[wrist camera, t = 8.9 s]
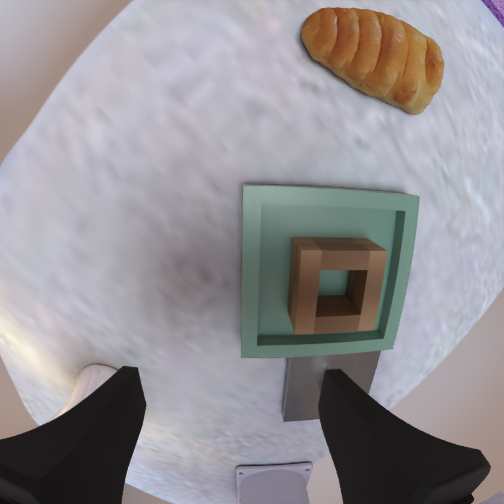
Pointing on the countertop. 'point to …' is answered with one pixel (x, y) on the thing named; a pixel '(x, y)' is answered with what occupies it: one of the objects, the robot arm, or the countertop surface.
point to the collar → (335, 306)
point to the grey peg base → (321, 380)
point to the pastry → (376, 55)
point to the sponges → (496, 9)
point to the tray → (331, 281)
